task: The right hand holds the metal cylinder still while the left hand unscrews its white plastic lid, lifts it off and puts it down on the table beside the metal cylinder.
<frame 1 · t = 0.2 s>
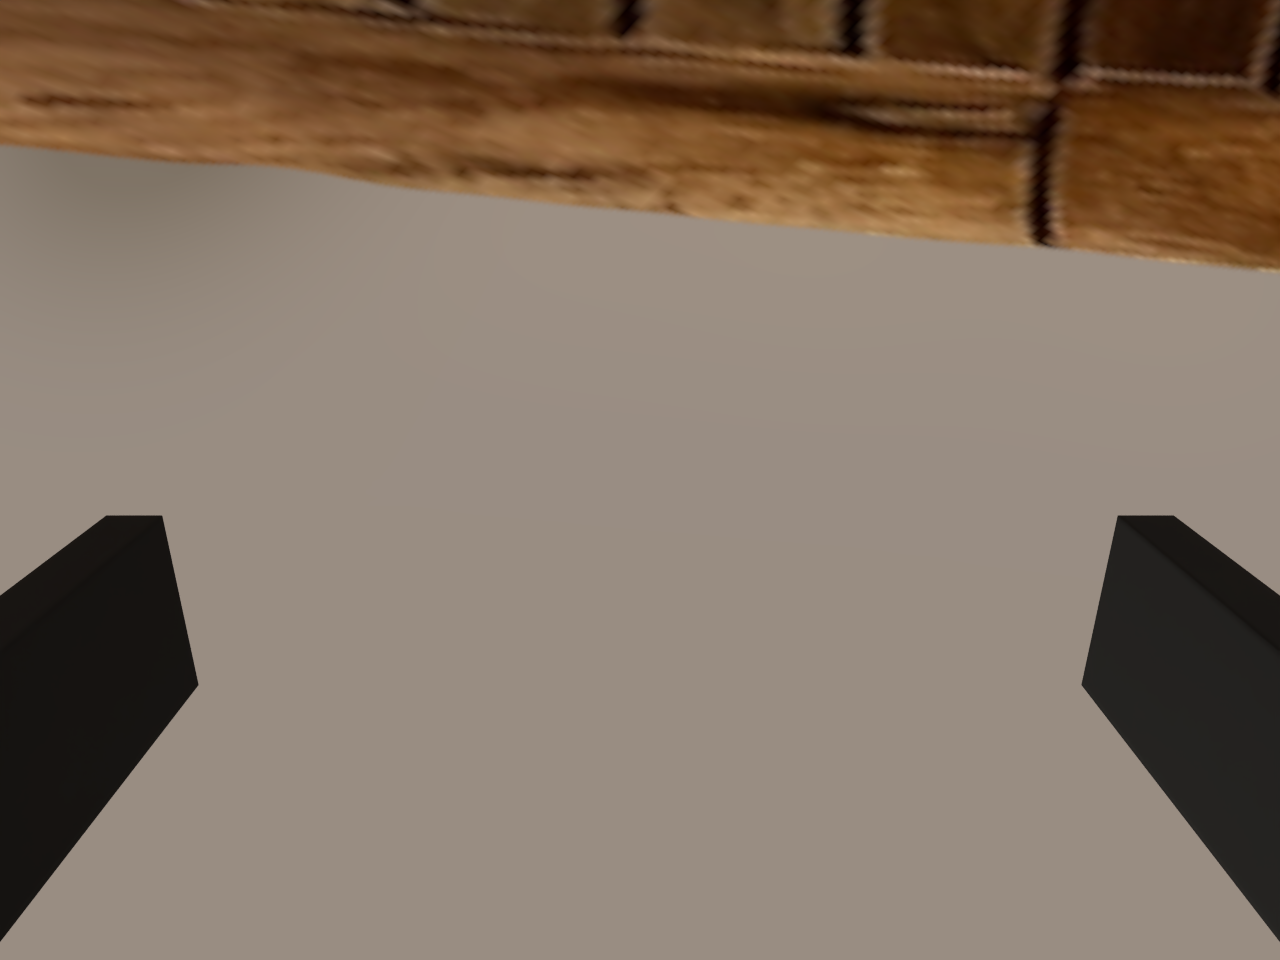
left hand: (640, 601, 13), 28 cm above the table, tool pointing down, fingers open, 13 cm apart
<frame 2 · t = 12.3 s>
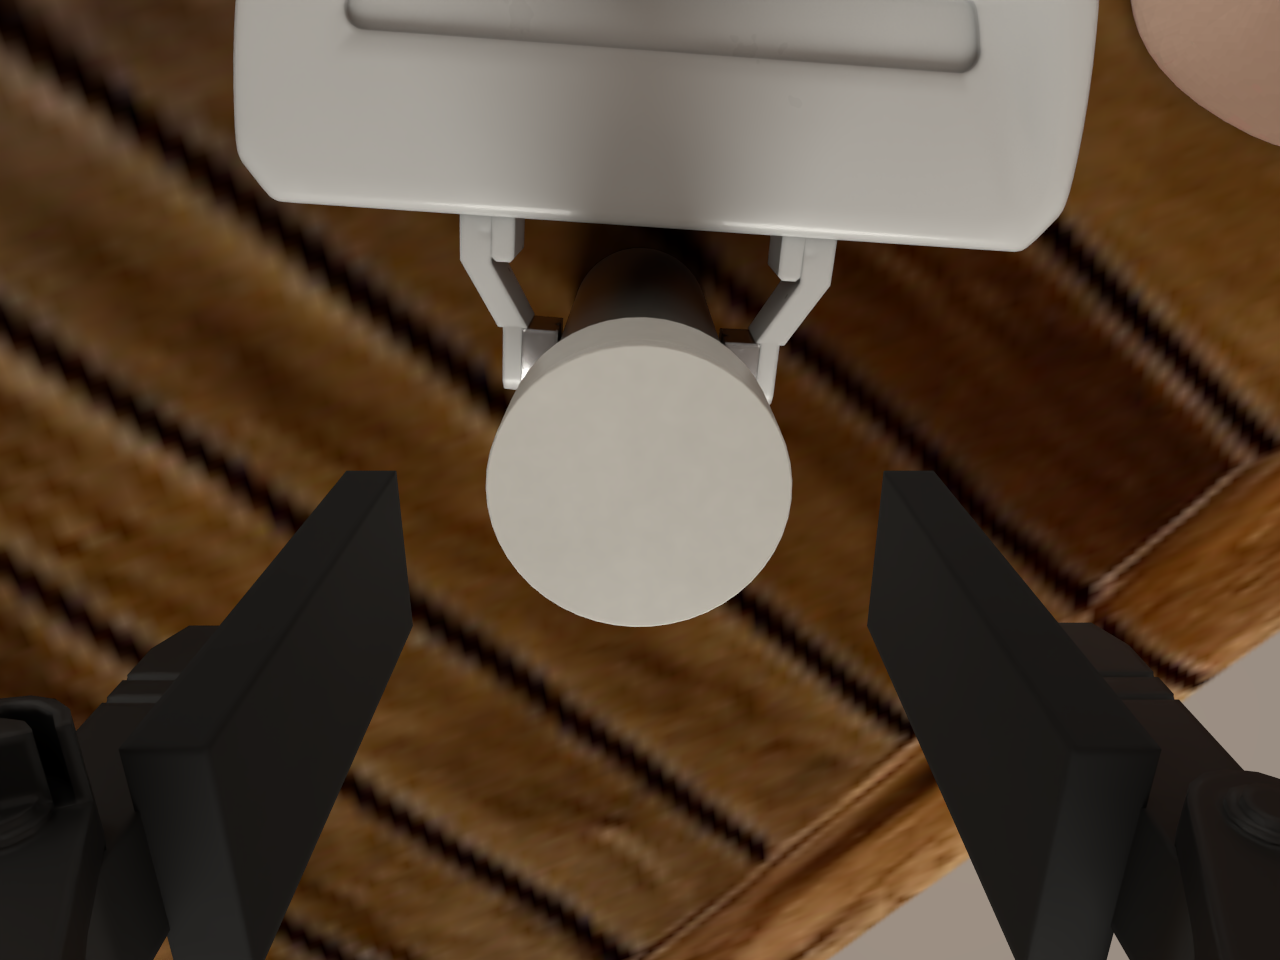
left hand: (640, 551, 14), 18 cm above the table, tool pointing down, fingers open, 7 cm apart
right hand: (638, 392, 26), fingers closed on metal cylinder, 4 cm apart
metal cylinder: (639, 315, 31), on the table, touching right hand
lid: (639, 487, 17), point 15 cm above the table, screwed on, not yet turned
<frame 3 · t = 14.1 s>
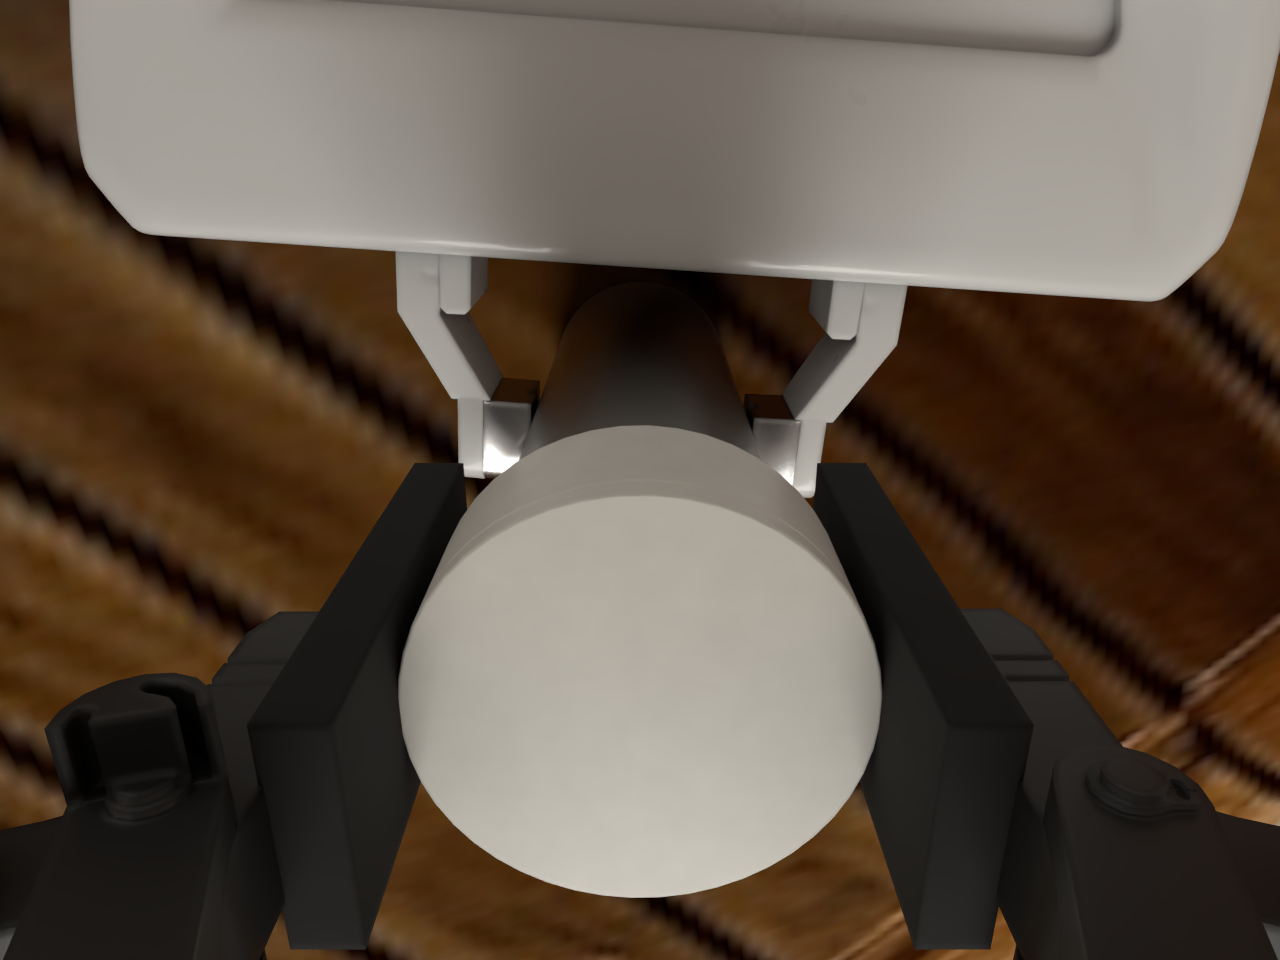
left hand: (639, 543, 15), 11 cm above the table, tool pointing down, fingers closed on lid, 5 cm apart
right hand: (639, 478, 20), fingers closed on metal cylinder, 4 cm apart
metal cylinder: (640, 363, 25), on the table, touching right hand
lid: (640, 697, 11), point 15 cm above the table, screwed on, not yet turned, touching left hand
when the left hand's fingers open (11 cm above the table, at t = 15.4 s): lid stays where it is, point 16 cm above the table.
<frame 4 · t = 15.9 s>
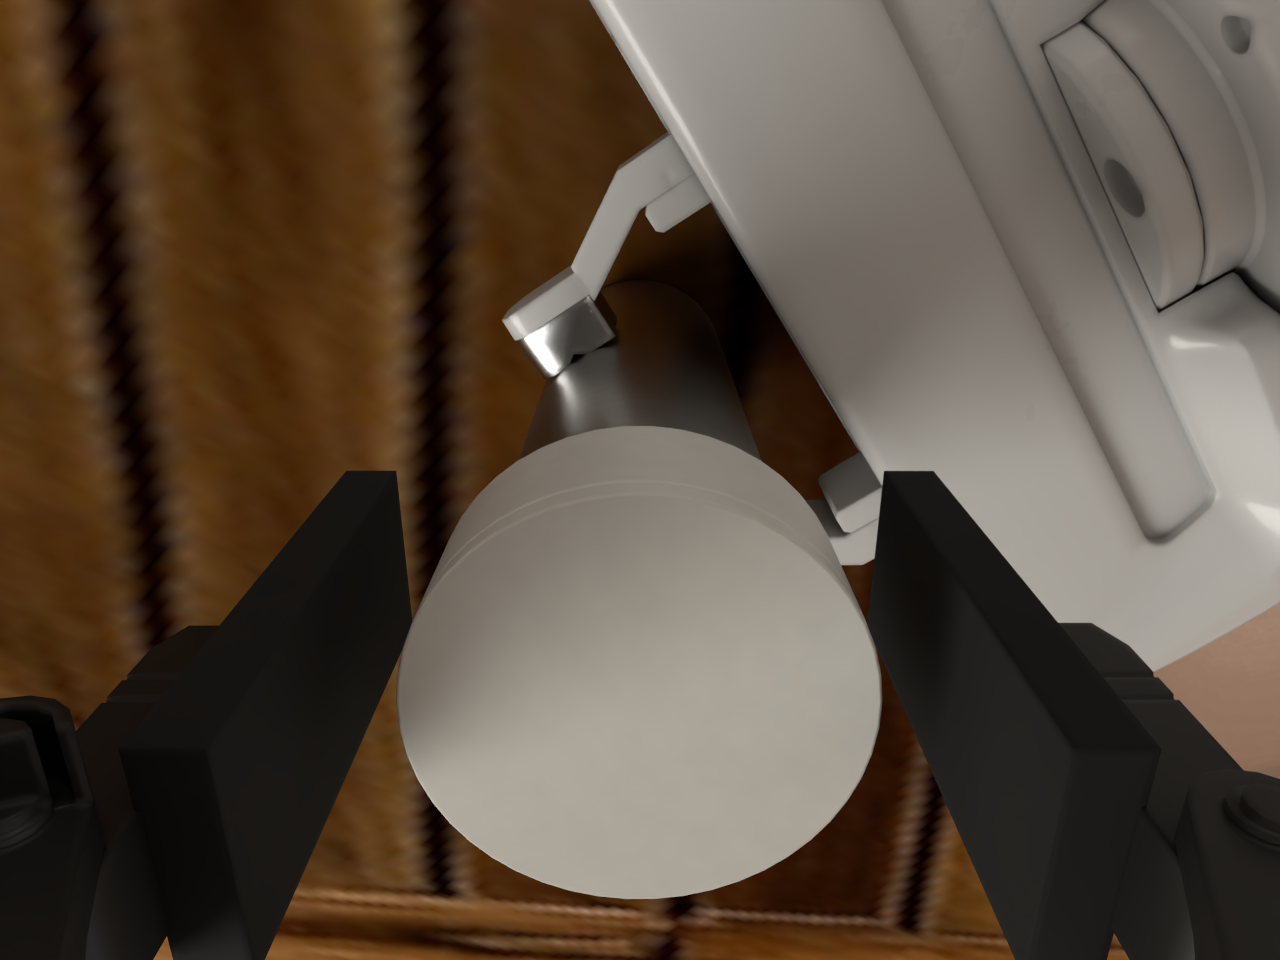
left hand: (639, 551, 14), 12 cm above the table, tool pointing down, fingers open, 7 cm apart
metal cylinder: (639, 361, 25), on the table, touching right hand
lid: (639, 698, 11), point 16 cm above the table, turned 90° so far, risen 0.3 cm, still on its thread
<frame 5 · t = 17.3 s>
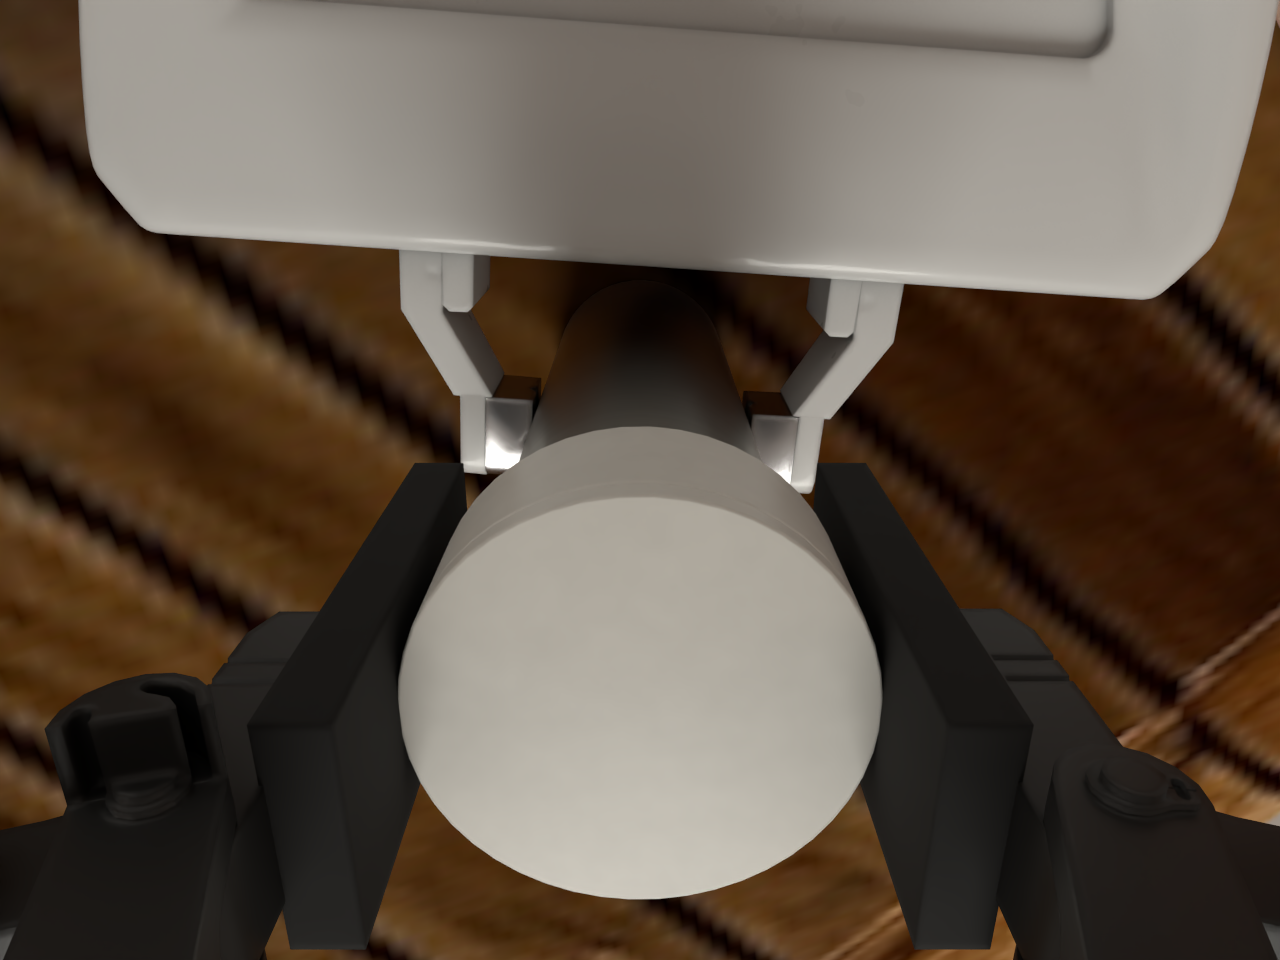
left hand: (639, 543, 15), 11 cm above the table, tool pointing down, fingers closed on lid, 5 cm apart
right hand: (639, 474, 20), fingers closed on metal cylinder, 4 cm apart
metal cylinder: (640, 361, 25), on the table, touching right hand
lid: (640, 699, 11), point 16 cm above the table, turned 90° so far, risen 0.3 cm, still on its thread, touching left hand
when the left hand's fingers open (0 cm above the table, at t = 23.7 s): lid drops 2 cm, point 2 cm above the table.
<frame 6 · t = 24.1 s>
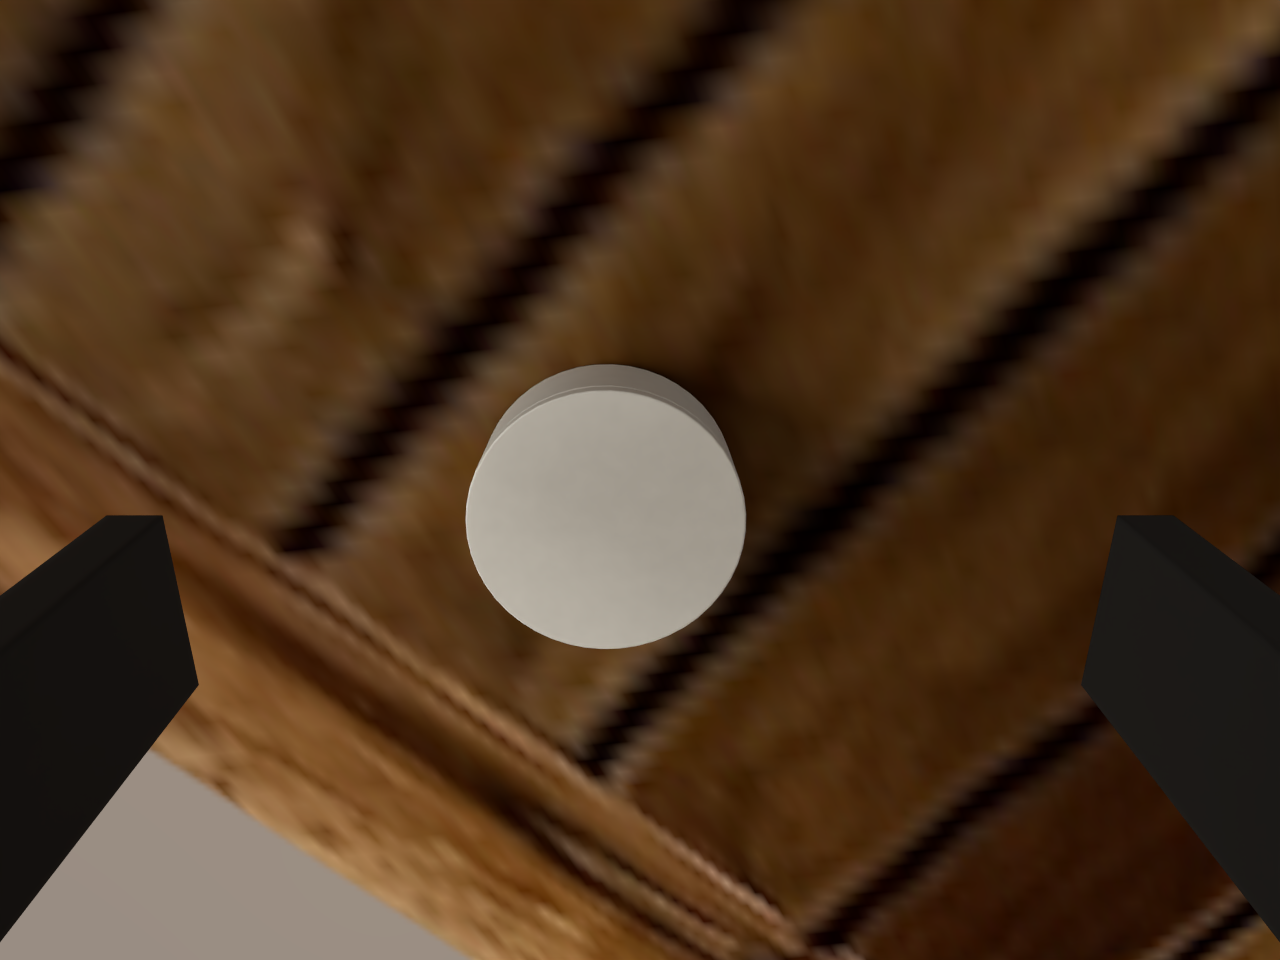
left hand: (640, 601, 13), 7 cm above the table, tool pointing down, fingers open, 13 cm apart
lid: (606, 520, 18), point 2 cm above the table, off its thread
when the right hand's fingers open (6 cm above the table, at t = 24.4 s): metal cylinder stays where it is, on the table.
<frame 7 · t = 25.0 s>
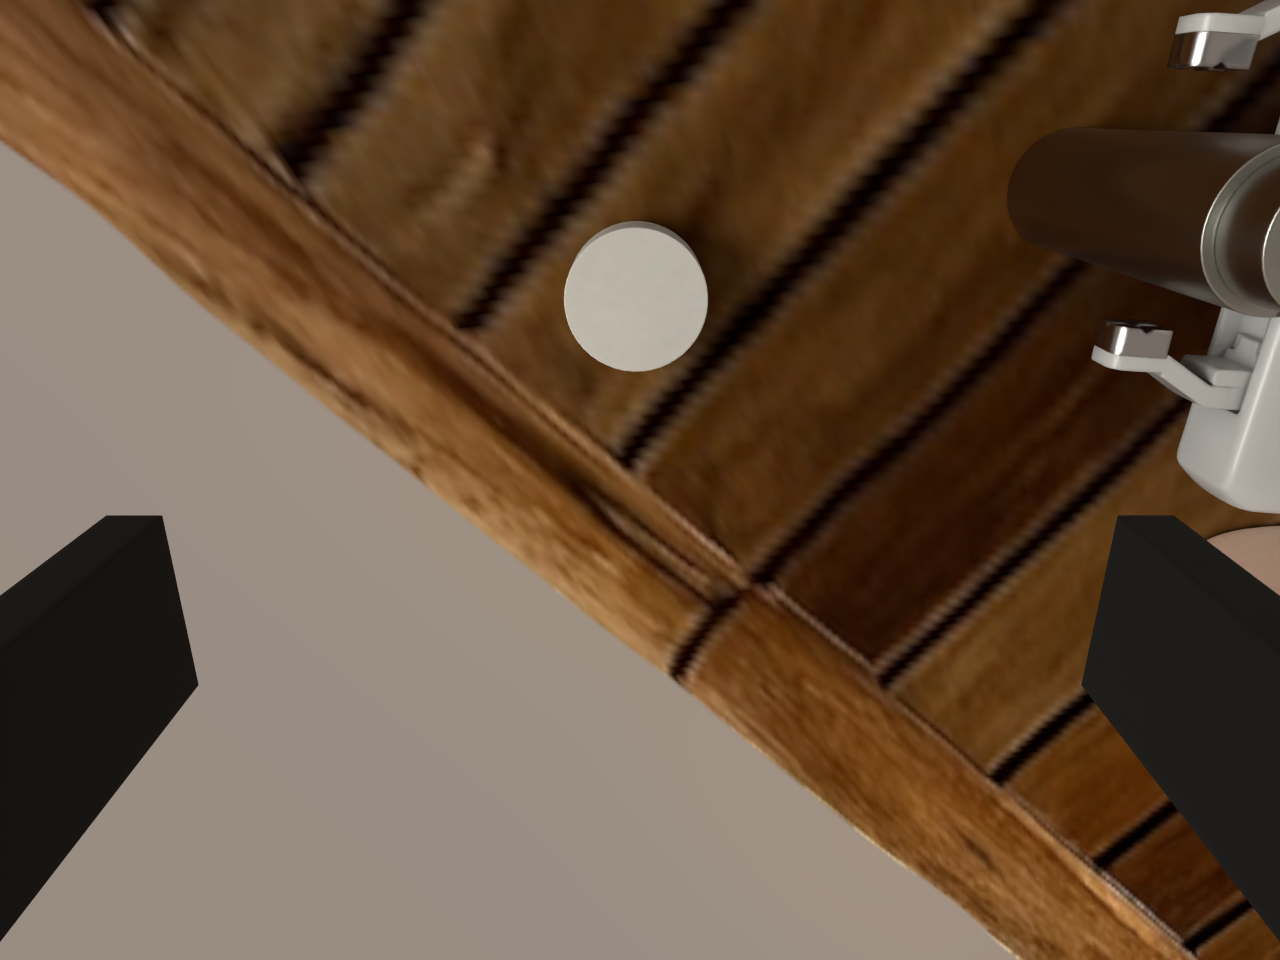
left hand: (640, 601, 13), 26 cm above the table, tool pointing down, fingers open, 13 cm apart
metal cylinder: (1065, 189, 35), on the table
lid: (636, 300, 35), point 2 cm above the table, off its thread
anatomical model: (1253, 626, 43), on the table
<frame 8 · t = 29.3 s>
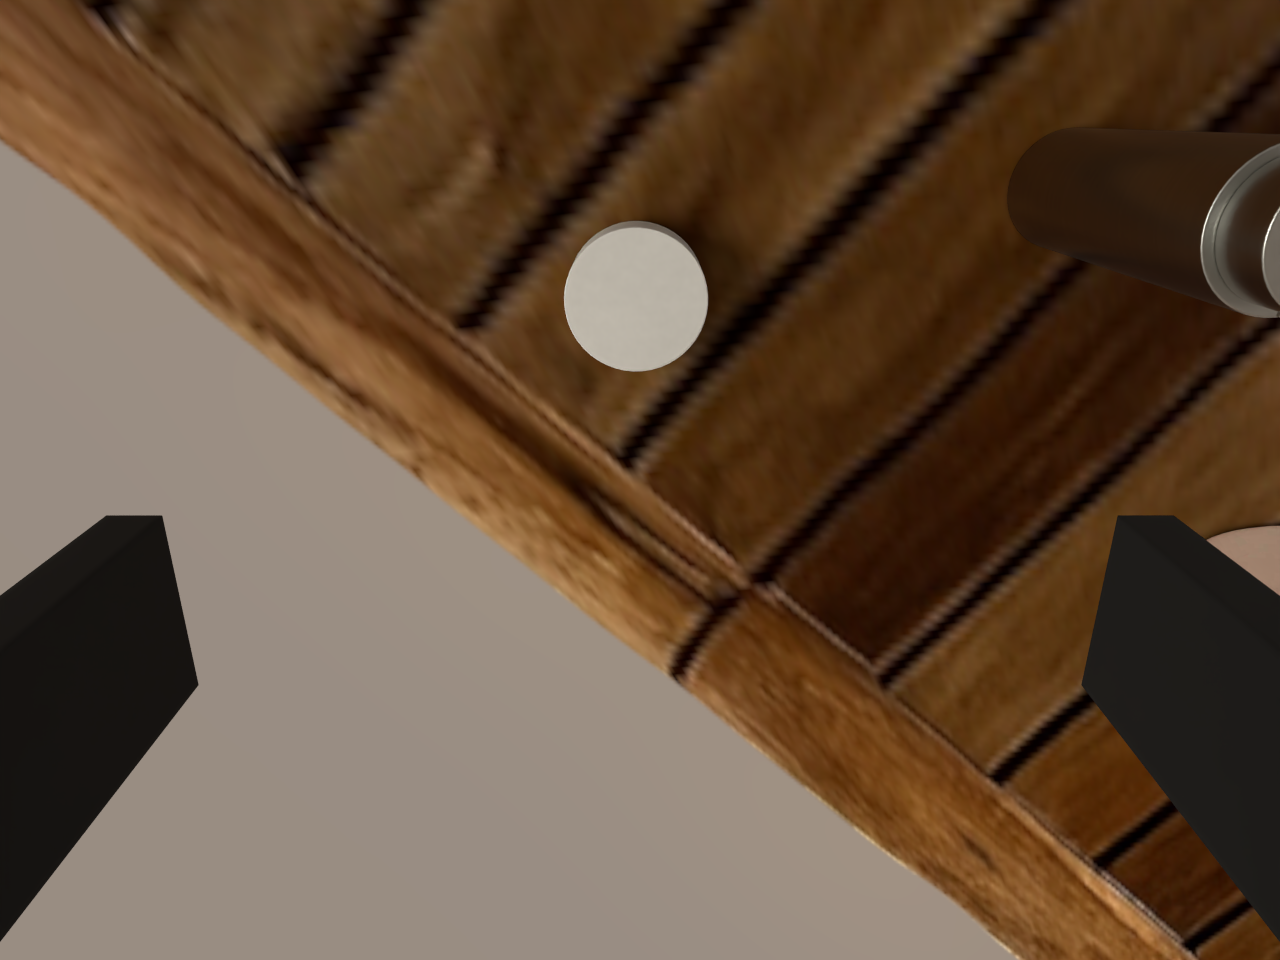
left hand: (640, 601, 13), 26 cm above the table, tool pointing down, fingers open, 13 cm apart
metal cylinder: (1065, 189, 35), on the table
lid: (636, 299, 35), point 2 cm above the table, off its thread
anatomical model: (1253, 626, 43), on the table
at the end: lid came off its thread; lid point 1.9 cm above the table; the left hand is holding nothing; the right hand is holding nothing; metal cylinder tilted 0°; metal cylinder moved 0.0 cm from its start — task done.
